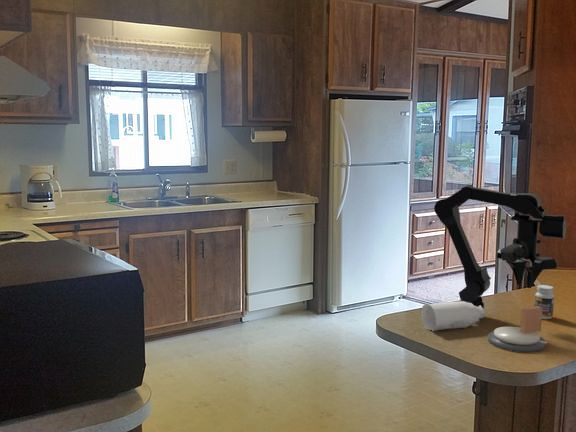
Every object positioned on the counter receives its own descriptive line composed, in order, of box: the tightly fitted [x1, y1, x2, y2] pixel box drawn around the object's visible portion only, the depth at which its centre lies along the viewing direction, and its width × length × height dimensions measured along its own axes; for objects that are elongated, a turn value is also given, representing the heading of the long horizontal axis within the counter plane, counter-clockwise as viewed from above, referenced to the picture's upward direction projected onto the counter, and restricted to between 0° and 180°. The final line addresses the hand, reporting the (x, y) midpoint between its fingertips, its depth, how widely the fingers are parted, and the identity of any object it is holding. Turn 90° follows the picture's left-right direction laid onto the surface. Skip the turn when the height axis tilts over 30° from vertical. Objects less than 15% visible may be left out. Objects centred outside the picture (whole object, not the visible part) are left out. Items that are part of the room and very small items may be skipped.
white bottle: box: [420, 301, 486, 332], centre depth 184 cm, size 8×19×8 cm, turn 108°
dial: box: [493, 306, 543, 345], centre depth 171 cm, size 14×12×8 cm
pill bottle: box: [533, 284, 555, 320], centre depth 195 cm, size 6×6×10 cm
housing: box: [487, 331, 548, 353], centre depth 171 cm, size 15×15×1 cm
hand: (524, 286), depth 186 cm, fingers open, 4 cm apart
